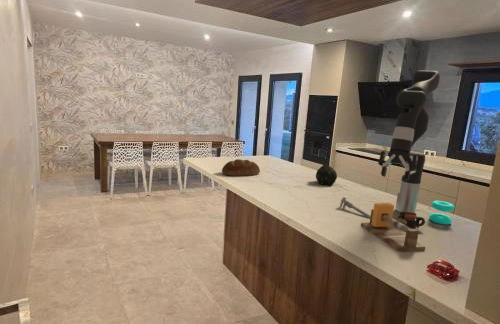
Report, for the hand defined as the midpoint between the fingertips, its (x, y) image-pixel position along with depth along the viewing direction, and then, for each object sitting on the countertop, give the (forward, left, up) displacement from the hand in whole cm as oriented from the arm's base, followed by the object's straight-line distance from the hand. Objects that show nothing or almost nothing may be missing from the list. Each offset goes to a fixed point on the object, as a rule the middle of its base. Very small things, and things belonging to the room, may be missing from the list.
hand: (393, 178), depth 128 cm
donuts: (-18, +46, -27) cm, 56 cm away
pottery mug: (-13, +24, -27) cm, 38 cm away
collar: (-10, +5, -24) cm, 27 cm away
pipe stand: (-3, +5, -27) cm, 27 cm away
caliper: (-33, +7, -27) cm, 43 cm away
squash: (-91, +19, -27) cm, 97 cm away
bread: (-117, -37, -27) cm, 125 cm away
